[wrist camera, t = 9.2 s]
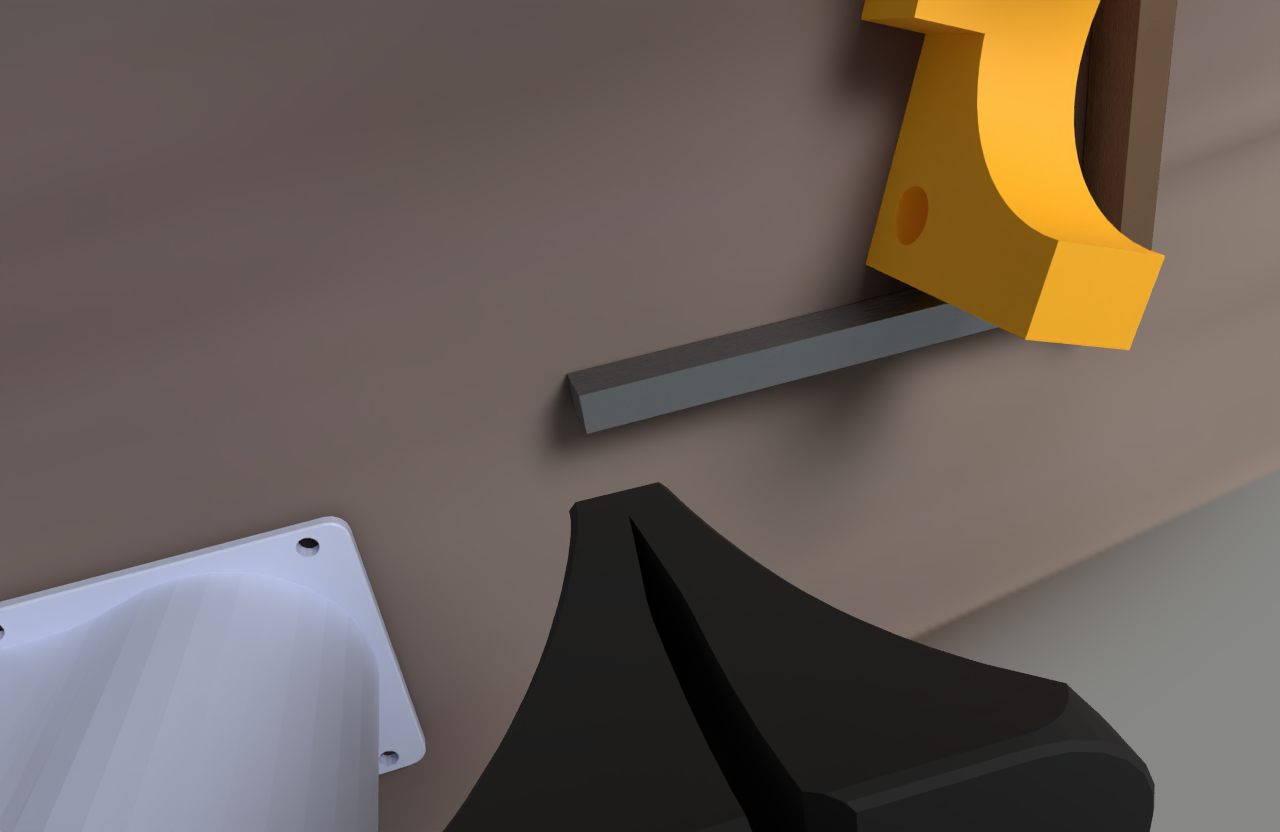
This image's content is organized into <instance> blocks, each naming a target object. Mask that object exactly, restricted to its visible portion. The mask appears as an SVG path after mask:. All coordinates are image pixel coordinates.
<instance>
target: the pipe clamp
mask: <svg viewBox="0 0 1280 832" xmlns="http://www.w3.org/2000/svg"><path fill="white" fill-rule="evenodd" d="M1099 3H1100V0H865V3H864V8H863V12H862V16H861V20H865V21H870V22H874V23H879V24H883V25H888V26H892V27H897V28H902V29H906V30H911V31H915V32H920V33H924V34H926V35H925V39H924V43H923V46H922V50H921V54H920V58H919V62H918V66H917V69H916V73H915V77H914V81H913V85H912V89H911V92H910V96H909V100H908V104H907V108H906V112H905V115H904V119H903V123H902V127H901V131H900V135H899V138H898V142H897V146H896V150H895V154H894V158H893V161H892V165H891V169H890V173H889V177H888V181H887V184H886V188H885V192H884V196H883V200H882V204H881V208H880V211H879V215H878V219H877V223H876V227H875V231H874V234H873V238H872V242H871V246H870V250H869V254H868V257H867V261H866V265H868V266H870V267H872V268H874V269H876V270H878V271H881V272H883V273H885V274H887V275H889V276H891V277H893V278H895V279H898V280H900V281H902V282H904V283H906V284H908V285H910V286H912V287H915V288H917V289H919V290H921V291H923V292H925V293H927V294H929V295H932V296H934V297H936V298H938V299H940V300H942V301H944V302H946V303H949V304H951V305H953V306H955V307H957V308H959V309H961V310H963V311H966V312H968V313H970V314H972V315H974V316H976V317H978V318H980V319H983V320H985V321H987V322H989V323H991V324H993V325H995V326H997V327H1000V328H1002V329H1004V330H1006V331H1008V332H1010V333H1012V334H1014V335H1017V336H1019V337H1021V338H1023V339H1025V340H1034V341H1044V342H1054V343H1064V344H1075V345H1085V346H1095V347H1105V348H1115V349H1125V350H1129V349H1130V346H1131V344H1132V341H1133V339H1134V336H1135V333H1136V331H1137V328H1138V326H1139V323H1140V320H1141V318H1142V315H1143V312H1144V310H1145V307H1146V305H1147V302H1148V299H1149V297H1150V294H1151V292H1152V289H1153V286H1154V284H1155V281H1156V279H1157V276H1158V273H1159V271H1160V268H1161V265H1162V263H1163V260H1164V258H1165V256H1164V255H1161V254H1159V253H1156V252H1153V251H1150V250H1148V249H1146V248H1144V247H1142V246H1140V245H1138V244H1136V243H1134V242H1133V241H1131V240H1130V239H1128V238H1127V237H1126V236H1124V235H1123V234H1122V233H1120V232H1119V231H1118V230H1117V229H1116V228H1115V227H1114V226H1113V225H1112V224H1111V223H1110V222H1109V221H1108V220H1107V219H1106V218H1105V216H1104V215H1103V214H1102V212H1101V211H1100V210H1099V208H1098V207H1097V205H1096V204H1095V202H1094V200H1093V198H1092V197H1091V195H1090V193H1089V191H1088V188H1087V186H1086V183H1085V181H1084V179H1083V176H1082V172H1081V169H1080V165H1079V162H1078V157H1077V151H1076V145H1075V134H1074V101H1075V91H1076V82H1077V77H1078V71H1079V65H1080V61H1081V57H1082V53H1083V49H1084V45H1085V42H1086V39H1087V35H1088V32H1089V29H1090V26H1091V23H1092V20H1093V18H1094V15H1095V13H1096V10H1097V8H1098V5H1099Z"/></svg>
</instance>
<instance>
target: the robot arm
mask: <svg viewBox="0 0 1280 832" xmlns="http://www.w3.org/2000/svg"><path fill="white" fill-rule="evenodd" d="M569 512H570V517H571V538H570V547H569V555H568V562H567V567H566V572H565V577H564V582H563V586H562V591H561V595H560V599H559V603H558V606H557V610H556V613H555V616H554V620H553V623H552V627H551V630H550V633H549V637H548V640H547V642H546V645H545V648H544V651H543V654H542V656H541V659H540V662H539V664H538V667H537V669H536V671H535V674H534V676H533V679H532V681H531V683H530V686H529V688H528V690H527V693H526V695H525V697H524V699H523V701H522V703H521V705H520V707H519V709H518V711H517V713H516V715H515V717H514V719H513V721H512V723H511V725H510V727H509V729H508V731H507V733H506V735H505V737H504V738H503V740H502V742H501V744H500V746H499V747H498V749H497V751H496V752H495V754H494V756H493V757H492V759H491V760H490V762H489V764H488V765H487V767H486V768H485V770H484V772H483V773H482V775H481V776H480V778H479V780H478V781H477V783H476V784H475V786H474V788H473V789H472V791H471V792H470V794H469V796H468V797H467V799H466V800H465V802H464V803H463V805H462V806H461V808H460V809H459V810H458V812H457V813H456V815H455V816H454V817H453V819H452V820H451V821H450V823H449V824H448V825H447V827H446V828H445V829H444V831H443V832H1150V827H1151V822H1152V817H1153V811H1154V782H1153V780H1152V778H1151V775H1150V773H1149V770H1148V768H1147V766H1146V764H1145V763H1144V762H1143V761H1142V759H1141V758H1140V757H1139V756H1138V755H1137V754H1136V753H1135V752H1134V751H1133V750H1132V749H1131V747H1130V746H1129V745H1128V744H1127V743H1126V742H1125V741H1124V740H1123V739H1122V738H1121V736H1120V735H1119V734H1118V733H1117V732H1116V731H1115V730H1114V729H1113V728H1112V727H1111V726H1110V725H1109V724H1108V723H1107V722H1106V720H1105V719H1104V718H1103V717H1102V716H1101V715H1100V714H1099V713H1098V712H1097V711H1095V710H1094V709H1093V708H1092V707H1091V706H1090V705H1089V704H1088V703H1087V702H1085V701H1084V700H1083V699H1082V698H1081V697H1080V696H1079V695H1078V694H1077V693H1075V692H1074V691H1073V690H1072V689H1071V688H1070V687H1069V686H1068V685H1067V684H1066V683H1063V682H1058V681H1054V680H1049V679H1046V678H1041V677H1037V676H1033V675H1029V674H1025V673H1020V672H1016V671H1011V670H1008V669H1004V668H999V667H995V666H991V665H987V664H983V663H979V662H976V661H973V660H969V659H966V658H963V657H960V656H956V655H953V654H950V653H947V652H944V651H941V650H938V649H934V648H931V647H928V646H926V645H923V644H920V643H917V642H914V641H912V640H909V639H906V638H903V637H901V636H898V635H896V634H893V633H891V632H888V631H886V630H884V629H881V628H879V627H876V626H874V625H872V624H869V623H867V622H864V621H862V620H860V619H857V618H855V617H853V616H851V615H849V614H847V613H844V612H842V611H840V610H838V609H836V608H834V607H832V606H830V605H828V604H826V603H825V602H823V601H821V600H819V599H817V598H815V597H813V596H811V595H809V594H807V593H806V592H804V591H802V590H800V589H799V588H797V587H795V586H794V585H792V584H790V583H789V582H787V581H786V580H784V579H782V578H781V577H779V576H778V575H776V574H775V573H773V572H772V571H770V570H769V569H767V568H766V567H764V566H763V565H761V564H760V563H758V562H757V561H755V560H754V559H753V558H751V557H750V556H748V555H747V554H745V553H744V552H743V551H741V550H740V549H739V548H738V547H736V546H735V545H734V544H732V543H731V542H730V541H728V540H727V539H726V538H724V537H723V536H722V535H720V534H719V533H718V532H717V531H715V530H714V529H713V528H712V527H710V526H709V525H708V524H707V523H706V522H704V521H703V520H702V519H701V518H700V517H699V516H697V515H696V514H695V513H694V512H693V511H692V510H690V509H689V508H688V507H687V506H686V505H685V504H684V503H683V502H682V501H680V500H679V499H678V498H677V497H676V496H675V495H674V494H673V493H672V492H671V491H670V490H669V489H668V488H667V487H665V486H664V485H662V484H661V483H659V482H657V483H653V484H649V485H645V486H641V487H637V488H632V489H628V490H624V491H620V492H616V493H612V494H608V495H603V496H599V497H595V498H591V499H587V500H583V501H579V502H575V504H574V505H573V506H572V508H571V509H570V511H569ZM303 538H312V539H315V540H316V541H317V542H318V543H319V544H318V545H317V546H315V547H314V548H305V547H302V546H301V545H300V544H299V543H298V541H299V540H301V539H303ZM0 626H1V627H3V628H4V631H0V832H378V786H379V775H380V774H383V773H386V772H389V771H393V770H396V769H399V768H402V767H405V766H408V765H412V764H414V763H416V762H418V761H419V760H420V759H421V758H422V757H423V756H424V754H425V751H426V749H425V737H424V734H423V732H422V729H421V726H420V723H419V720H418V717H417V715H416V712H415V709H414V706H413V703H412V701H411V698H410V695H409V692H408V689H407V686H406V684H405V681H404V678H403V675H402V672H401V669H400V667H399V664H398V661H397V658H396V655H395V653H394V650H393V647H392V644H391V641H390V638H389V636H388V633H387V630H386V627H385V624H384V621H383V619H382V616H381V613H380V610H379V607H378V605H377V602H376V599H375V596H374V593H373V590H372V588H371V585H370V582H369V579H368V576H367V573H366V571H365V568H364V565H363V562H362V559H361V557H360V554H359V551H358V548H357V545H356V542H355V540H354V537H353V534H352V531H351V529H350V527H349V525H348V524H347V522H345V521H344V520H342V519H341V518H337V517H333V516H330V517H322V518H318V519H314V520H311V521H307V522H303V523H299V524H295V525H291V526H288V527H284V528H280V529H276V530H272V531H269V532H265V533H261V534H257V535H253V536H249V537H246V538H242V539H238V540H234V541H230V542H227V543H223V544H219V545H215V546H211V547H207V548H204V549H200V550H196V551H192V552H188V553H185V554H181V555H177V556H173V557H169V558H166V559H162V560H158V561H154V562H150V563H146V564H143V565H139V566H135V567H131V568H127V569H124V570H120V571H116V572H112V573H108V574H104V575H101V576H97V577H93V578H89V579H85V580H82V581H78V582H74V583H70V584H66V585H62V586H59V587H55V588H51V589H47V590H43V591H40V592H36V593H32V594H28V595H24V596H20V597H17V598H13V599H9V600H5V601H1V602H0ZM386 751H394V752H396V753H394V754H392V755H383V754H382V753H384V752H386Z"/></svg>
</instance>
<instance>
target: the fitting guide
mask: <svg viewBox="0 0 1280 832" xmlns="http://www.w3.org/2000/svg"><path fill="white" fill-rule="evenodd" d="M1176 7H1177V0H1100V3H1099V5H1098V8H1097V10H1096V13H1095V15H1094V18H1093V22H1092V37H1091V53H1090V68H1089V83H1088V98H1087V113H1086V128H1085V143H1084V158H1083V173H1082V176H1083V179H1084V181H1085V183H1086V186H1087V188H1088V191H1089V193H1090V195H1091V197H1092V198H1093V200H1094V202H1095V204H1096V205H1097V207H1098V208H1099V210H1100V211H1101V212H1102V214H1103V215H1104V216H1105V218H1106V219H1107V220H1108V221H1109V222H1110V223H1111V224H1112V225H1113V226H1114V227H1115V228H1116V229H1117V230H1118V231H1119V232H1120V233H1122V234H1123V235H1124V236H1126V237H1127V238H1128V239H1130V240H1131V241H1133V242H1134V243H1136V244H1138V245H1140V246H1142V247H1144V248H1146V249H1148V250H1150V251H1151V248H1152V238H1153V229H1154V219H1155V210H1156V200H1157V190H1158V181H1159V171H1160V161H1161V152H1162V142H1163V132H1164V123H1165V113H1166V103H1167V94H1168V84H1169V75H1170V65H1171V55H1172V46H1173V36H1174V26H1175V17H1176ZM994 328H998V327H997V326H995V325H993V324H991V323H989V322H987V321H985V320H983V319H980V318H978V317H976V316H974V315H972V314H970V313H968V312H966V311H963V310H961V309H959V308H957V307H955V306H953V305H951V304H949V303H946V302H944V301H942V300H940V299H938V298H936V297H934V296H932V295H929V294H927V293H925V292H923V291H921V290H919V289H917V288H914V289H910V290H906V291H902V292H898V293H894V294H890V295H886V296H882V297H878V298H873V299H869V300H865V301H861V302H857V303H853V304H849V305H845V306H841V307H837V308H833V309H829V310H825V311H821V312H816V313H812V314H808V315H804V316H800V317H796V318H792V319H788V320H784V321H780V322H776V323H772V324H768V325H764V326H760V327H755V328H751V329H747V330H743V331H739V332H735V333H731V334H727V335H723V336H719V337H715V338H711V339H707V340H703V341H699V342H694V343H690V344H686V345H682V346H678V347H674V348H670V349H666V350H662V351H658V352H654V353H650V354H646V355H642V356H637V357H633V358H629V359H625V360H621V361H617V362H613V363H609V364H605V365H601V366H597V367H593V368H589V369H585V370H581V371H576V372H572V373H568V374H567V375H568V380H569V385H570V390H571V395H572V399H573V404H574V409H575V412H576V414H577V416H578V417H579V419H580V421H581V423H582V425H583V427H584V429H585V431H586V433H587V434H589V433H593V432H597V431H601V430H604V429H608V428H612V427H616V426H620V425H624V424H628V423H631V422H635V421H639V420H643V419H647V418H651V417H655V416H658V415H662V414H666V413H670V412H674V411H678V410H682V409H685V408H689V407H693V406H697V405H701V404H705V403H709V402H712V401H716V400H720V399H724V398H728V397H732V396H736V395H739V394H743V393H747V392H751V391H755V390H759V389H763V388H766V387H770V386H774V385H778V384H782V383H786V382H790V381H793V380H797V379H801V378H805V377H809V376H813V375H817V374H821V373H824V372H828V371H832V370H836V369H840V368H844V367H848V366H851V365H855V364H859V363H863V362H867V361H871V360H875V359H878V358H882V357H886V356H890V355H894V354H898V353H902V352H905V351H909V350H913V349H917V348H921V347H925V346H929V345H932V344H936V343H940V342H944V341H948V340H952V339H956V338H959V337H963V336H967V335H971V334H975V333H979V332H983V331H986V330H990V329H994Z"/></svg>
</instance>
